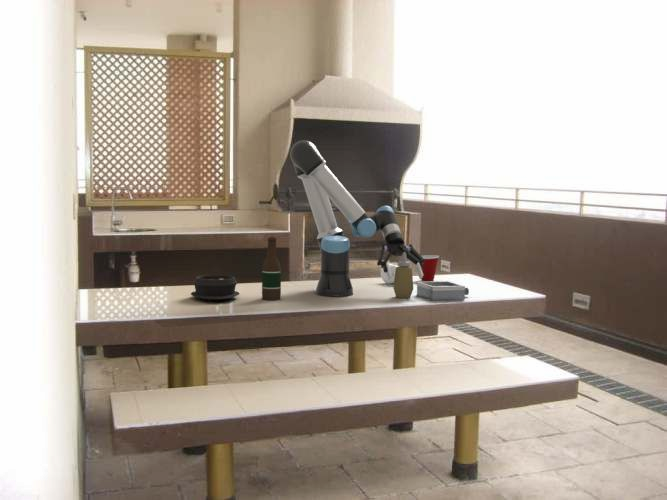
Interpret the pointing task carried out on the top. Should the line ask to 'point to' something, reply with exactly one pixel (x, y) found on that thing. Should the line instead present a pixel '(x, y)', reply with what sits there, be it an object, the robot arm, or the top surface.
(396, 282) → the squeeze bottle
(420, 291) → the box
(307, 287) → the top surface
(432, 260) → the plastic cup
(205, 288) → the casserole
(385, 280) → the white plush toy
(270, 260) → the beer bottle
